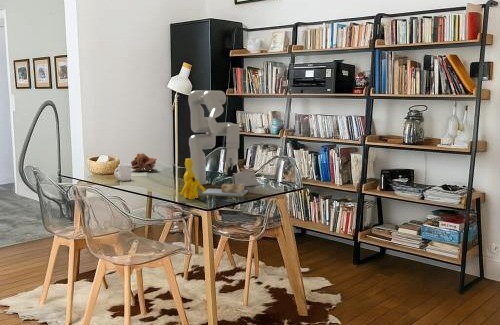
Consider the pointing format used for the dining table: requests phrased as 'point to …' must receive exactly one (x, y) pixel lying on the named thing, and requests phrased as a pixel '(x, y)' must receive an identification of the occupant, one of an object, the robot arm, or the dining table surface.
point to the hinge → (245, 178)
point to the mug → (123, 172)
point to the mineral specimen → (143, 162)
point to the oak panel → (233, 188)
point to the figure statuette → (190, 182)
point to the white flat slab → (219, 192)
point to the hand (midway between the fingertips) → (232, 174)
